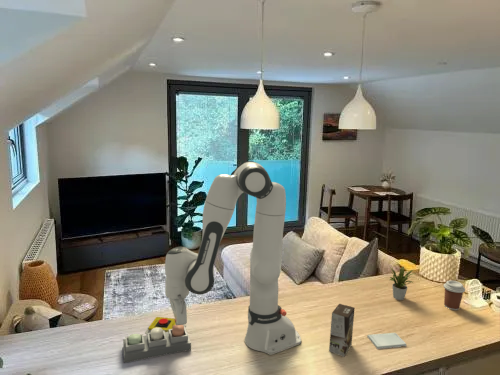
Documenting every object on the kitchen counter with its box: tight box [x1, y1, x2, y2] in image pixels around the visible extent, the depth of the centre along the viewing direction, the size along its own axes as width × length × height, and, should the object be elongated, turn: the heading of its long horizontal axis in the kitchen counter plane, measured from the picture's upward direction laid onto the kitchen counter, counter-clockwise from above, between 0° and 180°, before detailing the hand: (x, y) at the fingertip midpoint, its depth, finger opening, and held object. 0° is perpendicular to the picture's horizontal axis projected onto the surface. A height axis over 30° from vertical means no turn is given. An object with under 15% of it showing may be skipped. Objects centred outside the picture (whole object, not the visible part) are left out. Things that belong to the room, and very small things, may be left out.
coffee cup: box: [442, 280, 466, 311], centre depth 175 cm, size 9×9×12 cm
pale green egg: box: [127, 333, 141, 345], centre depth 136 cm, size 4×4×3 cm
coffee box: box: [328, 303, 355, 357], centre depth 141 cm, size 9×6×16 cm
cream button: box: [151, 328, 163, 341], centre depth 139 cm, size 4×4×3 cm
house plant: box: [389, 266, 415, 301], centre depth 182 cm, size 14×14×16 cm
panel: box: [122, 327, 192, 364], centre depth 139 cm, size 24×10×5 cm, turn 110°
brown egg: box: [172, 325, 184, 337], centre depth 141 cm, size 4×4×3 cm
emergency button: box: [144, 316, 187, 335], centre depth 152 cm, size 9×4×15 cm
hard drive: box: [366, 332, 407, 350], centre depth 147 cm, size 2×8×12 cm
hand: (177, 323), depth 141 cm, fingers closed
